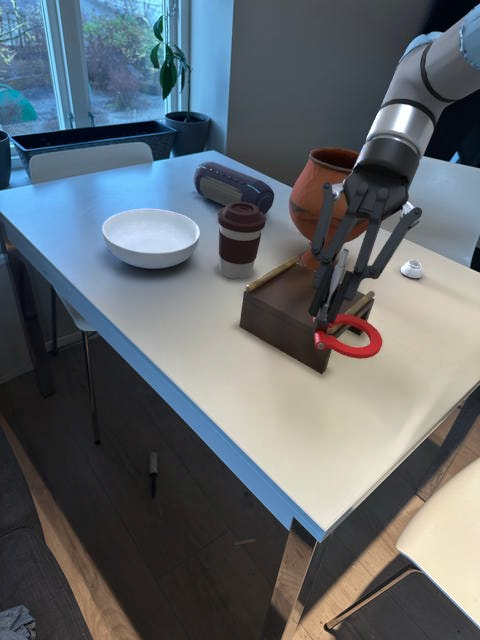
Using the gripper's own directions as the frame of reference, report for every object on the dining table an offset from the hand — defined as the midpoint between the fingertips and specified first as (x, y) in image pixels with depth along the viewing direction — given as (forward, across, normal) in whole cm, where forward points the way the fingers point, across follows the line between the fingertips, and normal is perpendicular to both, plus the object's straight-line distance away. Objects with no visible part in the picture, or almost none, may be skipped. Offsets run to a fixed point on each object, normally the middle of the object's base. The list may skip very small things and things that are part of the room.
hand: (320, 317), depth 56 cm
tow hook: (+1, -3, -6) cm, 7 cm away
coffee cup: (-9, +28, -36) cm, 46 cm away
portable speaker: (-30, +46, -58) cm, 80 cm away
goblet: (-20, +13, -47) cm, 53 cm away
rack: (-1, +7, -28) cm, 29 cm away
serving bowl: (-5, +46, -32) cm, 56 cm away
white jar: (-27, -7, -54) cm, 60 cm away
